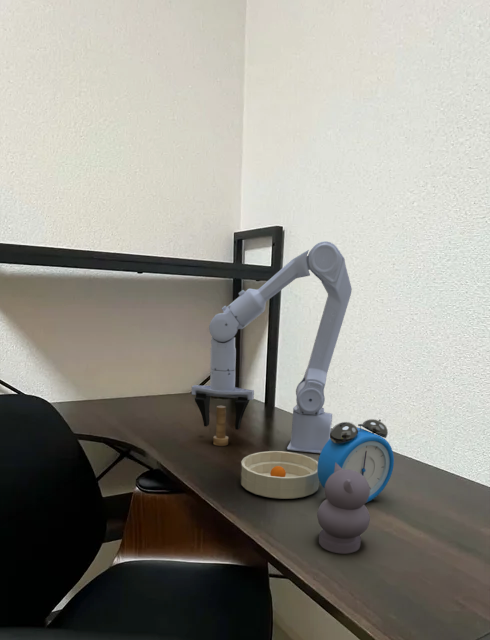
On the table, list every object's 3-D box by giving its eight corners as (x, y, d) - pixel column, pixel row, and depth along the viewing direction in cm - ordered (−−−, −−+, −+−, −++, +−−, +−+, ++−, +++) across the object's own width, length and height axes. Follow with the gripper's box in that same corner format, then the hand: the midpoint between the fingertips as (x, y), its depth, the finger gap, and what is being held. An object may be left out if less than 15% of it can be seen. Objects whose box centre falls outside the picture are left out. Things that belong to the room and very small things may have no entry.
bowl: (321, 476, 107) (323, 455, 105) (314, 505, 93) (316, 482, 91) (250, 468, 109) (250, 448, 107) (232, 495, 96) (232, 472, 94)
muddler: (230, 443, 125) (231, 406, 121) (223, 446, 122) (224, 409, 118) (218, 440, 126) (218, 404, 123) (210, 444, 123) (210, 407, 120)
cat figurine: (373, 556, 77) (385, 481, 72) (321, 558, 76) (330, 482, 71) (356, 530, 84) (365, 461, 80) (309, 531, 83) (315, 461, 79)
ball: (289, 466, 101) (283, 476, 99) (286, 476, 103) (281, 486, 101) (274, 460, 101) (269, 470, 100) (272, 471, 104) (267, 480, 102)
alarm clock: (331, 512, 91) (341, 429, 85) (312, 498, 96) (319, 419, 90) (389, 500, 96) (401, 422, 90) (368, 488, 101) (378, 413, 95)
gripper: (257, 368, 120) (255, 425, 126) (197, 364, 123) (198, 420, 128) (251, 373, 114) (248, 433, 119) (188, 368, 116) (189, 427, 122)
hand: (222, 427), depth 123 cm, fingers open, 7 cm apart
